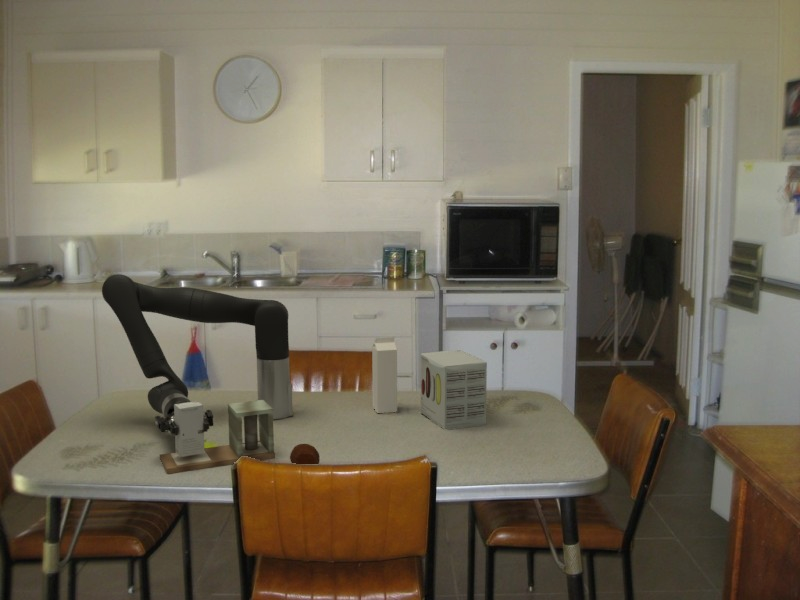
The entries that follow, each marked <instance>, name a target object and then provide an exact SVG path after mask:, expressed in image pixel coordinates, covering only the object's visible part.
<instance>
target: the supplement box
mask: <svg viewBox="0 0 800 600" xmlns="http://www.w3.org/2000/svg"><path fill="white" fill-rule="evenodd" d="M487 369H488V362H487V361H486V360H483V359H482V358H478V357H476V356H475V355H472V354H470V353H468V352H466V351H464V350H461V349H457V350H443V351H432V352H423V353H420V414H422V415H423V416H425V417H426V416H427V417H426V418H428V419H430V421H432V422H433V423H435V424H436V425H437V426H439V427H440V428H441V427H442V428H441V429H443V430H444V429H448V430H454V429H453V428H456V429H462V428H461V427H464V428H470V426H472V427H478V426H477V425H479V426H485V424H486V425H487V375H488V374H487V373H488V371H487Z"/></svg>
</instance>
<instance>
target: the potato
mask: <svg viewBox="0 0 800 600" xmlns="http://www.w3.org/2000/svg"><path fill="white" fill-rule="evenodd" d="M289 460H290V462H291V464H292V463H296V464H320V454H319V452H318V450H317V449H316V447H315V446H314V445H312V444H308V443H299V444H296V445H295V446H294V447H293V448H292V450H291V452H290V456H289Z"/></svg>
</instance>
